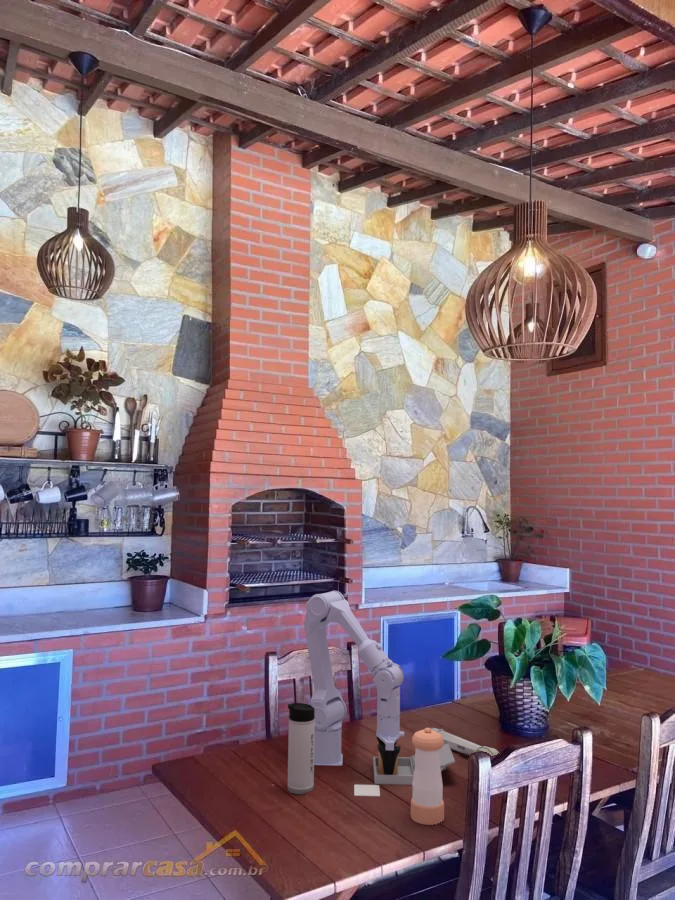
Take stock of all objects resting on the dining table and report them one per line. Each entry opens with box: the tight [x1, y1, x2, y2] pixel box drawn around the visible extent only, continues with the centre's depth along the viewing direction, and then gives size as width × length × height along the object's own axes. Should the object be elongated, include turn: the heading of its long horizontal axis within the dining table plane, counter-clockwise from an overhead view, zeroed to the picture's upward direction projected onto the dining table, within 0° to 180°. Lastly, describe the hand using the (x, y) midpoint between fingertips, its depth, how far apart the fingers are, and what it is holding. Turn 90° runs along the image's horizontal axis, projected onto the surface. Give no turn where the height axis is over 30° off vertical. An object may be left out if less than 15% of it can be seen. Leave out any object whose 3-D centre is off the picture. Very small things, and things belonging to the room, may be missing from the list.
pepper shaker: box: [410, 727, 445, 826], centre depth 154 cm, size 7×7×19 cm
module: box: [378, 751, 399, 775], centre depth 176 cm, size 4×4×6 cm
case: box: [372, 744, 456, 786], centre depth 175 cm, size 20×13×6 cm, turn 89°
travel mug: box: [287, 702, 315, 795], centre depth 168 cm, size 6×7×20 cm
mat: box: [353, 784, 381, 797], centre depth 166 cm, size 6×6×1 cm
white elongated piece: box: [429, 727, 500, 756], centre depth 190 cm, size 5×7×25 cm
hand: (387, 769), depth 176 cm, fingers open, 5 cm apart
